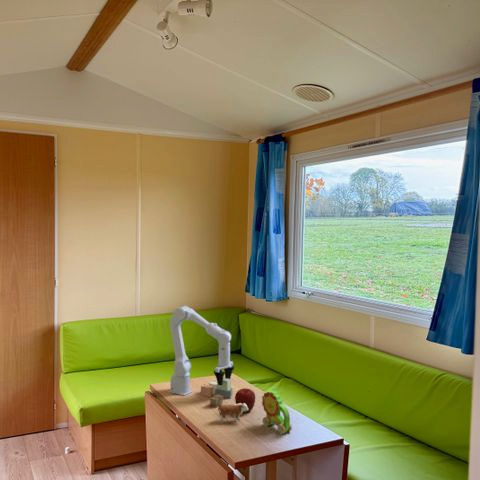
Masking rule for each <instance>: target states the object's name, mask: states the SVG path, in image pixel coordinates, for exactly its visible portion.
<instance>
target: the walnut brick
mask: <svg viewBox="0 0 480 480" xmlns="http://www.w3.org/2000/svg"><path fill="white" fill-rule="evenodd" d="M223 399H224V398H223V396H221V395H215V394H214V396H212V397H210V400H209V407H211V408H214V409H216V408H217V409H218V407H219V406H220V405H224V403H223V402H224V400H223Z"/></svg>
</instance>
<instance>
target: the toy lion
mask: <svg viewBox="0 0 480 480" xmlns="http://www.w3.org/2000/svg"><path fill="white" fill-rule="evenodd" d="M261 398H262V399H261V400H262V401H261V404H262V407H263V411H264V412H265V413H266V415H265V417H263V418H262V424H263V425H264V426H265V427H268V426H270V425H275V426H277V432H278V433H279V434H281V435H283V434H285V433H286V432H287V433H288V432H291V431H292V429H293V427H292V424H291V421H290V420H291V419H290V411H289V410H288V408H287V407H286V406H285V404H283V401H282V399H281V396H280V394H278V393H277V391H275V390H274V391H273V390H268V391H266V392H264V393H263V395H262V397H261ZM281 413H282V415H283V416H282V415H281Z"/></svg>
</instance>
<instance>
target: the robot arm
mask: <svg viewBox="0 0 480 480" xmlns="http://www.w3.org/2000/svg"><path fill="white" fill-rule="evenodd" d="M171 314H172V315H171V318H170V322H169V328H170V329H169V330H170V334H171V339H172V345H173V350H174V356H175V359H174V369H173V374H172V375H171V377H170V390H169V393H171V394H176V395H179V396H187V395H188V394H190V393H192V392H194V390H193V389H190V385H191V383H190V382H191V381H190V379H191V377H190V376H191V373H190V371H191V369H192V363H191V362H190V361H189V357H188V356H187V354H186V349H185V348H186V347H185V343H184V338H183V333H182V332H183V331H182V327H181V325H182V323H183V322H184V321H193V322H195V323H196V324H198V325H199V326H200V327H203V328H205V332H206V333H207V334H208V335H210V336H212V337H213V338H214V339H215V340H217V342H218V363H217V366H216V367H214V370H213V375H214V376H215V379H216V382H217V383H218V385H222V384H223V378H227V379H231V377H232V374H233V371H234V369H235V366H234V361H231V342H230V341H232V334H231V333H230V331H228V330H225V329H224V328H221V327H220V326H218V323H216V322H209V321H208V320H206V319H205V318H204V317H203V316H201V315H200V314H199V313H197V312H196V311H195V310H194V309H193V308H191V307H189V306H188V305H181V306H180V307H178V308H176V309H175V310H174V311H173V312H172V313H171Z"/></svg>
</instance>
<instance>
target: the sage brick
mask: <svg viewBox="0 0 480 480" xmlns="http://www.w3.org/2000/svg"><path fill="white" fill-rule="evenodd" d="M231 385H232V379H231V378H230V379H227V378H225V377H223V384H222V385H218V383H217V389H220V390H225V391H228V390H230V389H231V388H232V386H231Z"/></svg>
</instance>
